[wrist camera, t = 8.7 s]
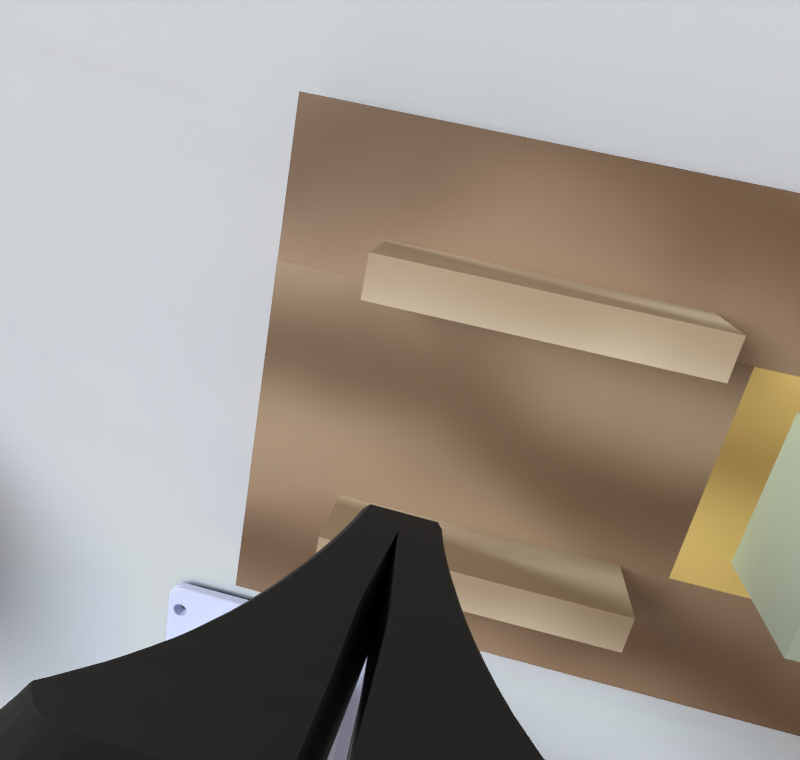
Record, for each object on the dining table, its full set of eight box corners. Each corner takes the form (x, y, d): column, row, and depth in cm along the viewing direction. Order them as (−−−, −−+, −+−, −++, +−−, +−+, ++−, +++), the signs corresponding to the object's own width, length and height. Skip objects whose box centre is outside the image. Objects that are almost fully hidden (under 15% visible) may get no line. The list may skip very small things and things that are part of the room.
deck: (1036, 757, 22) (1159, 896, 18) (256, 552, 25) (204, 634, 20) (1360, 309, 17) (1641, 359, 13) (319, 97, 19) (267, 81, 15)
